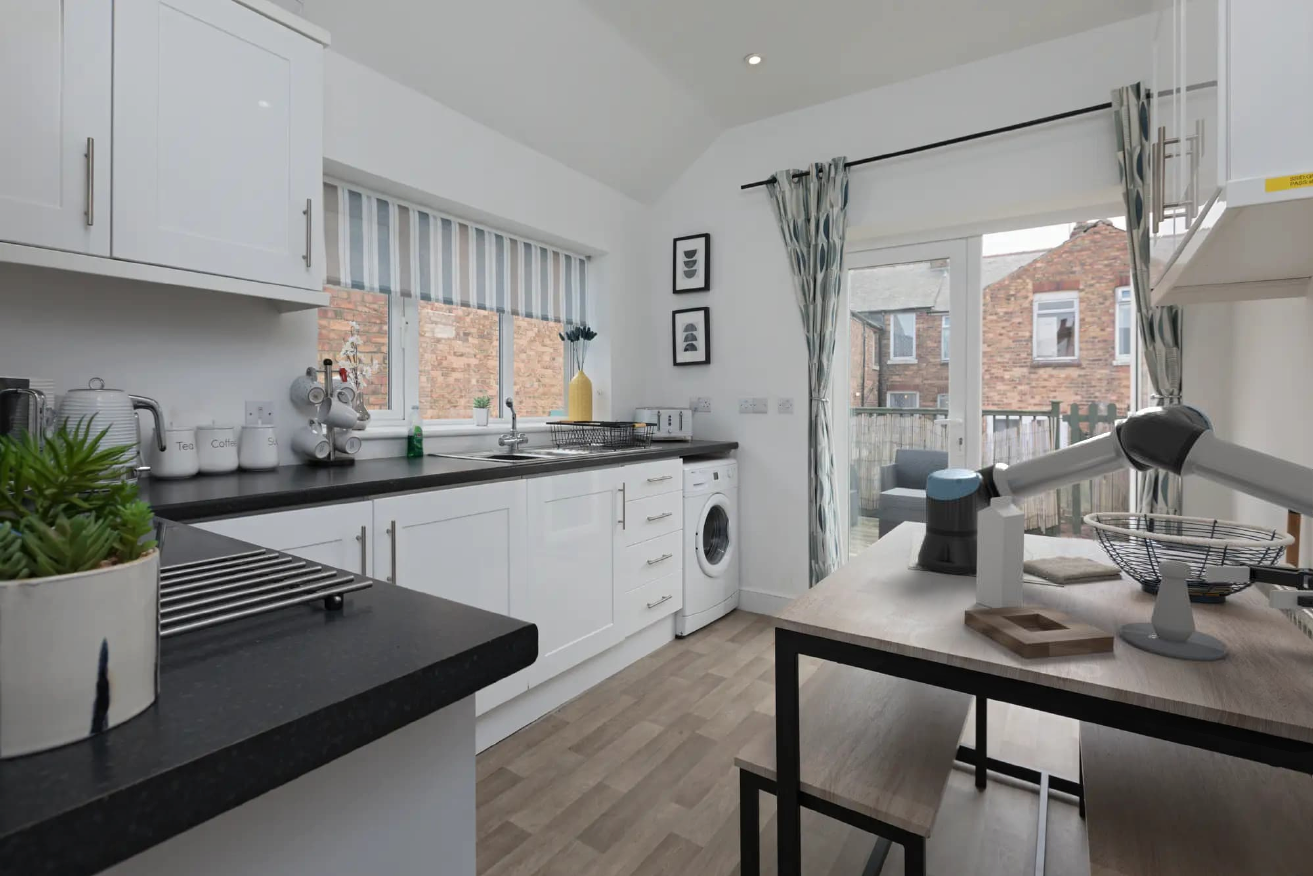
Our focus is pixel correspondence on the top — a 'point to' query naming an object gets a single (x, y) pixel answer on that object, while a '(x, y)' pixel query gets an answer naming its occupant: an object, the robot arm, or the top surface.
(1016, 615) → the socket block
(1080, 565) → the washcloth
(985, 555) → the milk
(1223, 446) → the robot arm
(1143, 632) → the coaster
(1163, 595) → the salt shaker
